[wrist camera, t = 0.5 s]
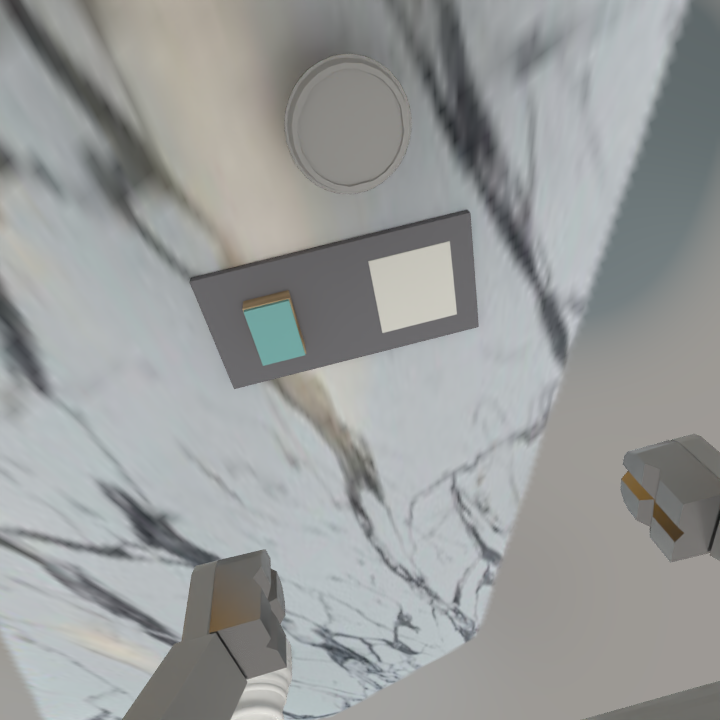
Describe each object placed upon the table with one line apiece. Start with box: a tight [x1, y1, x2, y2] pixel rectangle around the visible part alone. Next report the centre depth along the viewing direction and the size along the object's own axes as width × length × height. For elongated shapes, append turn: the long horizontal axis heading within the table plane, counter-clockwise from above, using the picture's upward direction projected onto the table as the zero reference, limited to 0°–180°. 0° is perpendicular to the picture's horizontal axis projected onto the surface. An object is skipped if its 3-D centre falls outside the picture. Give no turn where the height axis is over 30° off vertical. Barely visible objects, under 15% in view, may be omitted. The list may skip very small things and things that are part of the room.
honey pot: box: [231, 638, 292, 720], centre depth 82 cm, size 13×13×18 cm
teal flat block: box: [242, 290, 306, 366], centre depth 54 cm, size 7×5×2 cm
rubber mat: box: [190, 210, 479, 389], centre depth 56 cm, size 14×30×1 cm, turn 101°
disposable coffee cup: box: [285, 54, 411, 194], centre depth 41 cm, size 10×10×12 cm
